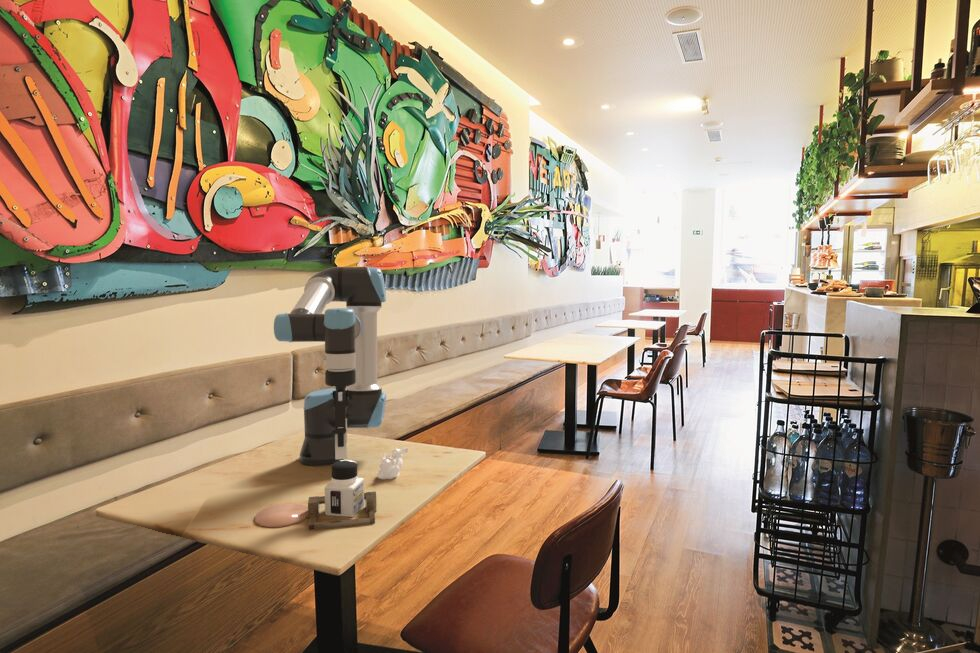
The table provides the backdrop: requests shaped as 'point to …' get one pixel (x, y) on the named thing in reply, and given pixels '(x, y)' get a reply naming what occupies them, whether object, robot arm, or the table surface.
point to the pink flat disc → (281, 515)
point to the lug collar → (314, 513)
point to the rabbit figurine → (391, 464)
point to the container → (344, 490)
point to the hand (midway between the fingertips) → (341, 450)
